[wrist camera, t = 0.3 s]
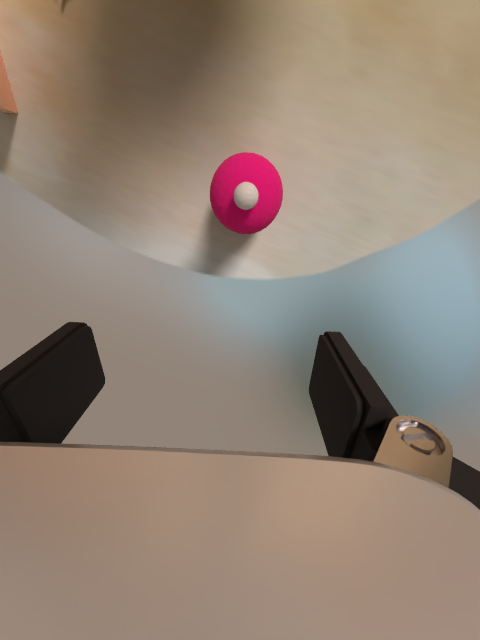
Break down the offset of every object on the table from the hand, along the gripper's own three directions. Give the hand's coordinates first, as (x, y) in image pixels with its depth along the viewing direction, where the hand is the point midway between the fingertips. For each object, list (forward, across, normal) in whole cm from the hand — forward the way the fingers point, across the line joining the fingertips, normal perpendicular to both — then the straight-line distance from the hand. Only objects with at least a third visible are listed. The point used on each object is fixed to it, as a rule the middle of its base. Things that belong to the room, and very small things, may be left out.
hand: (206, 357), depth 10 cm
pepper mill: (+31, -1, -6) cm, 31 cm away
